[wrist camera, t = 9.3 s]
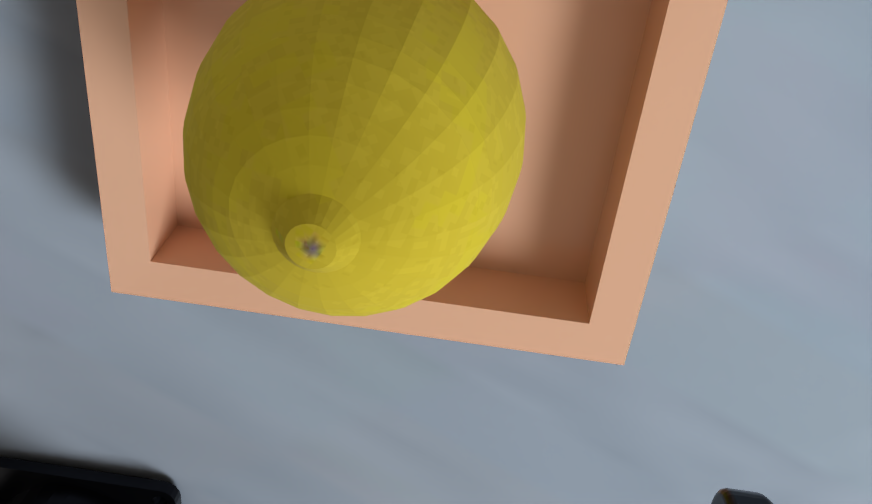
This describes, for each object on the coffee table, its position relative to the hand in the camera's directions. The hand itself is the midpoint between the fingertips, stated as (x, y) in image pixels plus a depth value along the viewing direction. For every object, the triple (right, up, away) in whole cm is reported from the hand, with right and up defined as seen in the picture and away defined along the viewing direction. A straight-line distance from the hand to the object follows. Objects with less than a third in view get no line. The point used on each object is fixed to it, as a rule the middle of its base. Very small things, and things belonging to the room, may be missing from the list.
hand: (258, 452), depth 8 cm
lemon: (+1, +6, +9) cm, 11 cm away
